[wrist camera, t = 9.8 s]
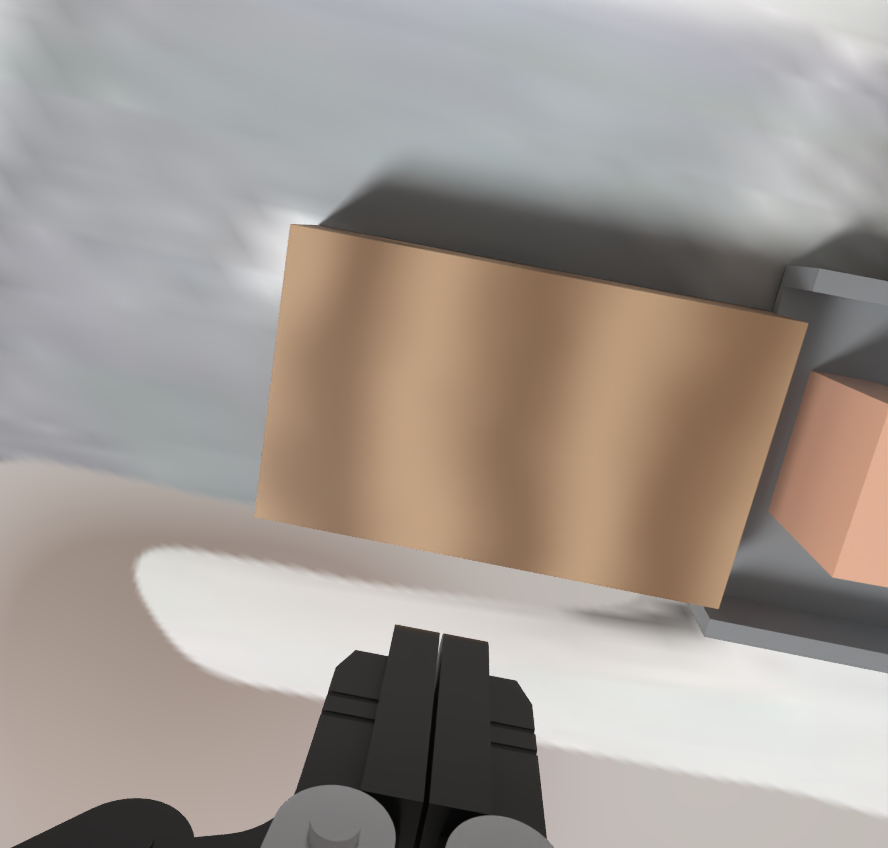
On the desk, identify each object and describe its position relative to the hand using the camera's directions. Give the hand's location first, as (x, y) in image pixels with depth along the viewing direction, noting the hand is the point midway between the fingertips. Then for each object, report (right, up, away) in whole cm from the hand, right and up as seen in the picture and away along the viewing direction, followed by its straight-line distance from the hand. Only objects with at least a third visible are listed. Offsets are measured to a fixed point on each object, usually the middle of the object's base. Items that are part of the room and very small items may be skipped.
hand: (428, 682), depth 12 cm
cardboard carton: (+3, +5, +19) cm, 20 cm away
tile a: (+14, +3, +15) cm, 21 cm away
